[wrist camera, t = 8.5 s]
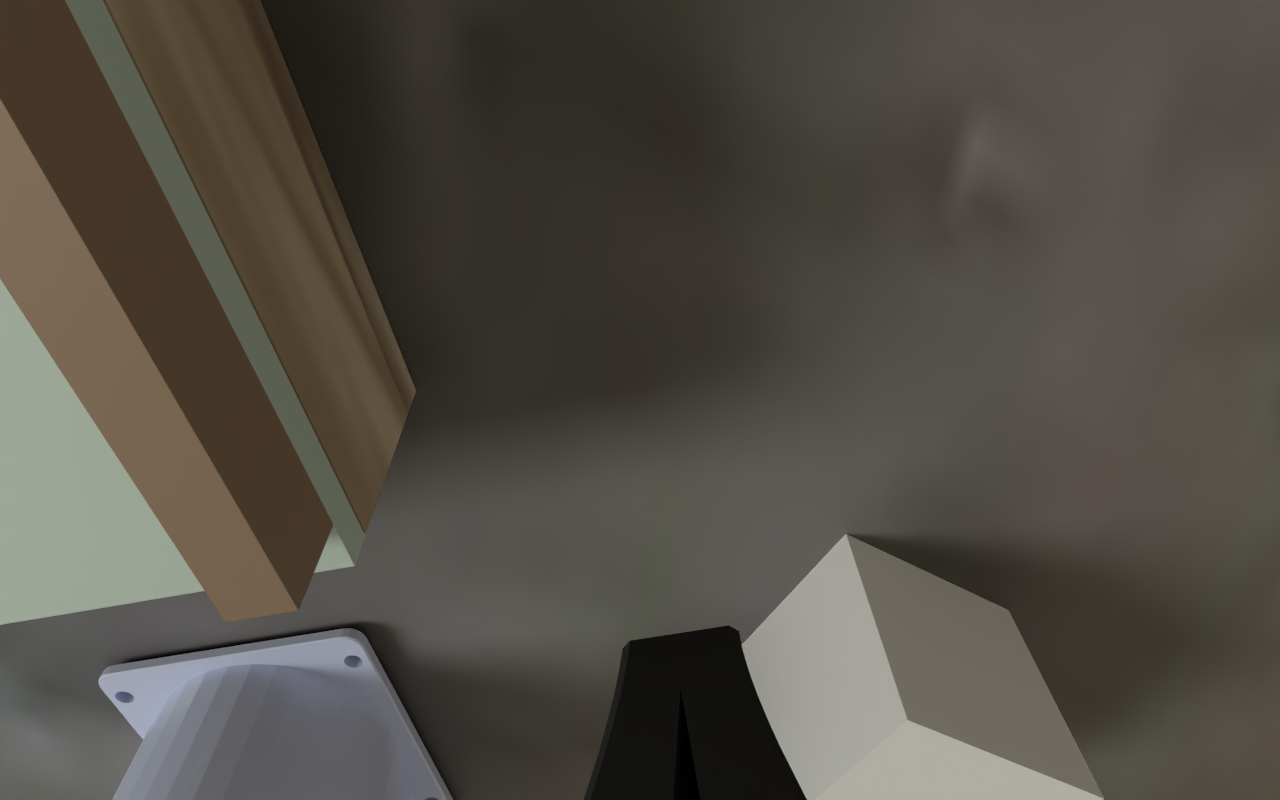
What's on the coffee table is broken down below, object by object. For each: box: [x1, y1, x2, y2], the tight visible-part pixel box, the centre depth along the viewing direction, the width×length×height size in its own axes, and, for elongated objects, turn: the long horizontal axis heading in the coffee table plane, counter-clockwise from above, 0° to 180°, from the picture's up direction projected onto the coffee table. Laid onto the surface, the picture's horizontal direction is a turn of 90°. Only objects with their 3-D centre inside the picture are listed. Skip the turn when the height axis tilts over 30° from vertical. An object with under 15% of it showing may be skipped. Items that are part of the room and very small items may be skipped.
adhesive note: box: [742, 534, 1104, 800], centre depth 23 cm, size 6×6×6 cm
